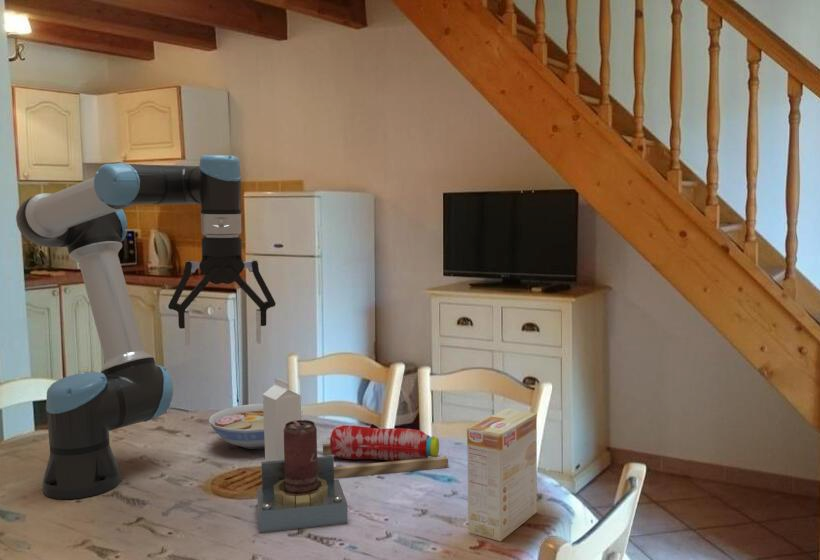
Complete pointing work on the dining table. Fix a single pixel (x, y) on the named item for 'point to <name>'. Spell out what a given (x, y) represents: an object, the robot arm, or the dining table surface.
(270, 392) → the milk
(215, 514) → the dining table surface
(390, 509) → the dining table surface
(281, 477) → the bolted ring bracket
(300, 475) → the can
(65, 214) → the robot arm
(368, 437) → the water bottle
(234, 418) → the ramen bowl
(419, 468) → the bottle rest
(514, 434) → the coffeecake box
